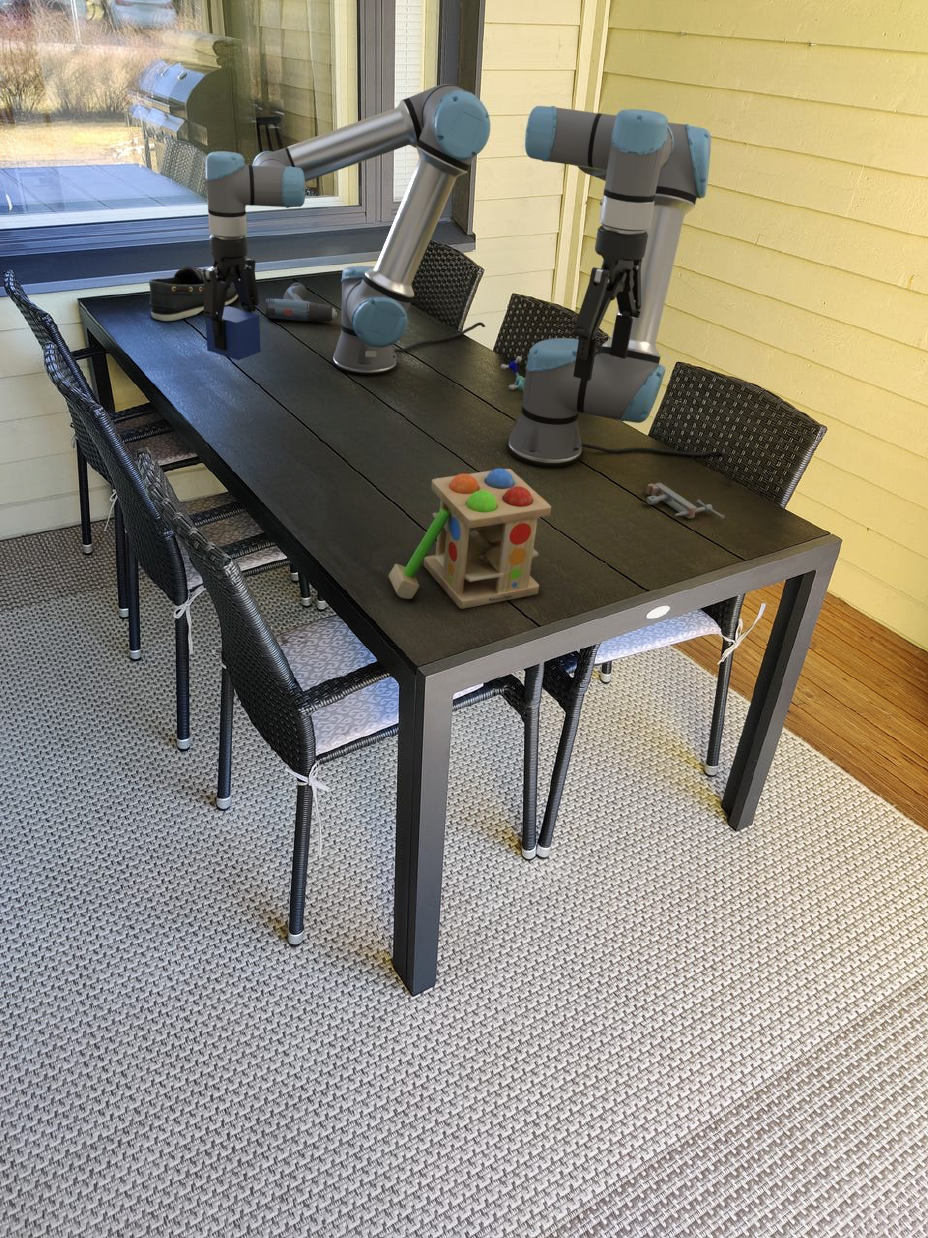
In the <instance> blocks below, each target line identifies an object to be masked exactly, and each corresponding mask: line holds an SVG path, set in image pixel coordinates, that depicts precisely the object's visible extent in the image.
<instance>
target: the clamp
mask: <svg viewBox="0 0 928 1238" xmlns="http://www.w3.org/2000/svg"><path fill="white" fill-rule="evenodd" d="M645 494H646V495H647V497H646V499H645V501H646V503H647V504H648V505H650V506H651V505H656V504H659V503H660V502H663V503H664V504H667V505H668V506H670V507H671V508H672V509H674V510H675V511H677V513H674V514H673V515H674V517H675V518H676V517H683V516H684V517H685V518H687V519H688V520H689V519H694V518H695V517H696V513H700V512H703V513H708V512H711V513H712V514H714V515H715V516H717V517H719V519H720V520H721V521H722V520H724V519H725V518H726V515H725V514H721V513H719V512H717V511H716V510H714V509H713V505H712V504H711V503H708V504H705V503H703V502H702V501H701V499H697V500H696V501H695V503H696V505H700V506H701V507H697V506H696V505H694V504H693V503H692V502H690V501H689V500H687V499H686V498H684V497H683V496H681V495H679V494H678V493H677V492H675V491H674V490H672V489H671V488H669V487H667V486H666V485H665V484H663V483H662V482H656V483H648V484H647V488H646V493H645Z"/></svg>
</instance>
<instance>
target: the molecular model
mask: <svg viewBox="0 0 928 1238" xmlns="http://www.w3.org/2000/svg"><path fill="white" fill-rule="evenodd" d="M522 359H523V358H522V356H521V355H520V356H519V355H518V356H516V359H515V360H514V361H511V362H510V363H509V364H505V363H502V364H501V365H500V369H501V370H503V371H504V370H506V369H510V370H513V372H514V374H515V376H516V378H515V382H514V384H510V385H508V390H510V391H514V390H516V389H518V390H519V391H521V392H522V394H523V393H524V384H525V377H523V376H522V375H520V374H519V371H518V370H517V366H518V365H517V364H518V363H519V362H521V361H522Z"/></svg>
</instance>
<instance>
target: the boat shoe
mask: <svg viewBox="0 0 928 1238" xmlns="http://www.w3.org/2000/svg"><path fill="white" fill-rule="evenodd" d="M204 282H205V280H204V276H203V269H202V268H199V267H195V266H191V265H186V266H185V265H184V266H183V267H181V268H179V269H178V270H177V271H176V272H175V273H174V274H173V277H172V276H171V277H167V278H166V277H165V278H152V279H150V280H149V281H148V285H149V291H150V292H149V302H148V306H151V309H150V313H151V317H152V318H153V319H155V320H157V321H162V322H171V321H172V322H173V321H178V320H182V319H184V318H188V317H192V316H196V315H197V314H199V313H201V312H202V311H204ZM221 283H225V282H222V281H221ZM237 299H238V295H237V292H236V289H235V286H234V283H233V282H232V283H231V286H230V288H229V289H228V292H227V297H226V302H225V306H229V305H230V304H232V303H233V302H235V301H236V300H237Z"/></svg>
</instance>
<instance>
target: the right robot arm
mask: <svg viewBox="0 0 928 1238" xmlns="http://www.w3.org/2000/svg"><path fill="white" fill-rule="evenodd" d="M711 149H712V136H711V133H710V131H709V130H707V129H706V128H704V127H700V126H695V125H690V124H689V123H685V124H684V123H675V122H669V119H668V117H667V115H666V114H663V113H661V112H657V111H653V110H646V109H638V108H637V109H635V108H627V109H626V108H625V109H621V110H620V111H618V112H617V113H616V114H609V113H600V112H591V111H584V110H578V109H571V108H563V107H556V105H550V106H548V105H547V106H546V105H536V106H535V107H533V108H532V109H531V111H530V112H529V115H528V118H527V122H526V126H525V134H524V150H525V154H526V155H527V156H528V158H530V159H533V160H538V161H542V162H546V163H547V162H549V163H555V164H563V165H568V166H569V165H570V166H575V167H577V168H578V169H579V170H580V171H581V172H582V173H584V174H586V175H588V176H592V177H595V178H597V179H599V180H602V181H604V182H605V184H604V188H603V195H602V198H601V199H600V201H599V205H600V206H601V210H600V214H599V223H600V224H601V225H600V226H599V227H598V228H597V232H596V239H595V244H594V245H595V246H594V251H595V253H596V254H597V255H598V256H601V258H602V260H603V261H602V264H601V266H600V268H599V267H595V266H594V267H592V268H591V271H590V275H589V281H588V285H587V288H586V291H585V294H584V297H583V300H582V303H581V306H580V309H579V312H578V316H577V318H576V321H575V324H574V327H573V330H572V334H573V335H574V336H577V337H578V339H577V338H570V337H569V338H568V337H555V338H548V339H543V340H541V341H538V342H537V343H535V344H533V346H532V347H530V349H529V352H528V357H527V362H526V365H525V377H524V378H525V384H524V393H523V392H522V402H521V411H520V415H519V417H518V419H517V420H511V424H510V426H511V427H513V426H514V427H513V430H512V431H511V433H510V435H509V438H508V444H507V451H508V452H509V454H510V455H511V456H512V457H513V458H515V459H516V460H518V461H520V462H523V463H525V464H527V465H531V466H536V467H541V468H551V469H553V468H563V467H570V466H572V465H574V464H576V463H578V462H579V461H580V460H581V457H582V456H581V455H582V451H583V448H586V449H592V450H596V451H601V452H604V453H609V454H622V453H628V452H629V453H630V452H650V453H656V454H657V453H658V454H666V455H667V454H668V455H676V456H685V457H686V456H687V457H705V456H709V455H713V454H719V456H722V457H724V456H725V457H726V455H725V453H724V452H723V453H721V452H713V451H712V450H713V449H711V450H708V451H704V452H689V451H680V450H679V451H678V450H669V449H659V448H651V447H650V448H649V447H628V448H620V449H618V448H616V449H614V448H613V449H612V448H605V447H602V446H599V445H594V444H588V443H583V442H582V440H581V433H580V429H579V423H578V420H579V419H578V418H579V413H581V414H585V415H586V414H587V415H592V416H597V417H602V418H606V419H612V420H617V421H620V422H622V423H623V422H629V423H635V424H641V423H644V422H645V421H646V420H647V419H648V418H649V416H650V414H651V413H652V410H653V408H654V405H655V404H656V403H655V402H656V400H657V398H658V395H659V393H660V392H659V391H660V389H661V387H662V384H663V380H664V376H665V373H666V367H665V366H664V365H663V364H660V362H661V357H662V356H661V353H660V351H659V350H658V349H657V346H656V344H657V339H658V334H659V330H660V325H661V322H662V318H663V313H664V308H665V303H666V299H667V295H668V290H669V285H670V282H671V277H672V271H673V268H674V264H675V259H676V255H677V251H678V246H679V242H680V237H681V233H682V228H683V224H684V219H685V216H687V214H689V213H690V212H691V211H693V210H694V209H695V207H696V204H697V200H698V199H704V198H705V197H706V196H707V189H708V183H709V172H710V165H711V164H710V163H711V152H712V151H711ZM615 300H616V302H617V303H616V304H617V310H616V315H615V318H614V319H615V320H614V324H613V329H612V334H611V336H610V338H609V339H607V340H606V341H605V342H603V344H601V348H600V353H597V352H596V351H597V345H598V337H596V336H597V333H598V331H599V329H600V327H601V324H602V322H603V320H604V317H605V315H606V314H607V313H606V312H607V311H608V308H609V306H610V305H611V302H612V301H615Z"/></svg>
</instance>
